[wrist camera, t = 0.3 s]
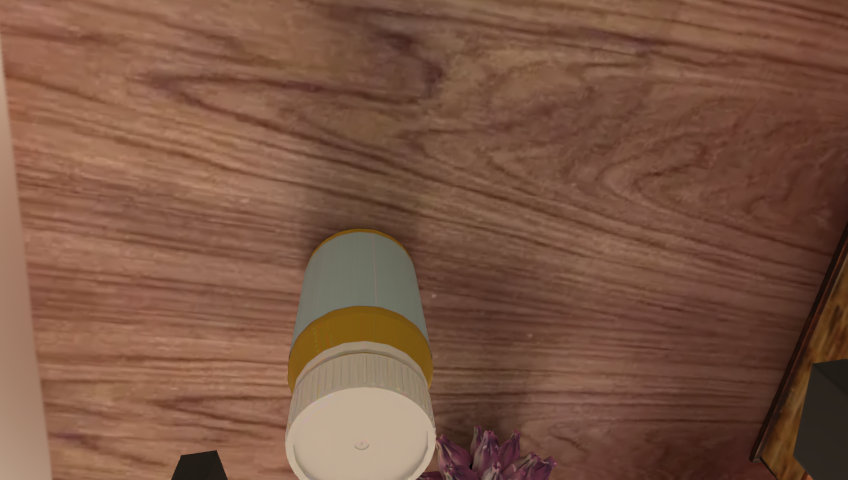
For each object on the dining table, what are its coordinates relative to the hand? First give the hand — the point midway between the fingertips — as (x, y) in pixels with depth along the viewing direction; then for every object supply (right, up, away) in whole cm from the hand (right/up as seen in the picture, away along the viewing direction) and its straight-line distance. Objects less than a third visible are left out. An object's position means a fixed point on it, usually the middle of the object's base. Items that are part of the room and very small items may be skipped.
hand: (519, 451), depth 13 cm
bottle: (-6, +3, +24) cm, 25 cm away
